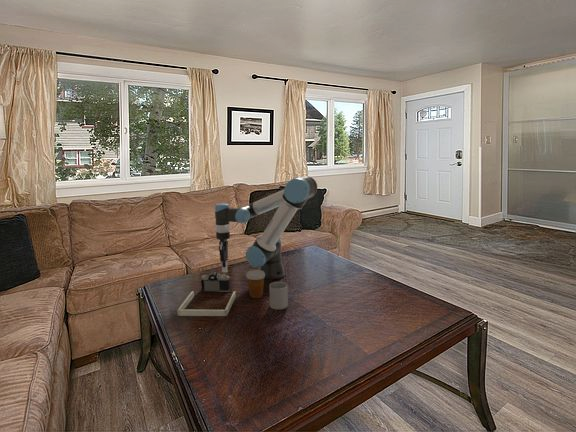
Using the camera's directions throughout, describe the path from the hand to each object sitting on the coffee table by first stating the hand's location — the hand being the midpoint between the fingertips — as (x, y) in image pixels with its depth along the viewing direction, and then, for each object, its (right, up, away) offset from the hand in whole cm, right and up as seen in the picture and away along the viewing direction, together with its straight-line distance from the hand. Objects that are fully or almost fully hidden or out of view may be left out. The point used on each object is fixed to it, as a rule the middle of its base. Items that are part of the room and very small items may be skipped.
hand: (224, 271), depth 198 cm
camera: (-1, -7, -15) cm, 17 cm away
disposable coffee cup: (+20, -8, -24) cm, 32 cm away
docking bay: (-1, -10, -34) cm, 36 cm away
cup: (+32, -10, -36) cm, 49 cm away
